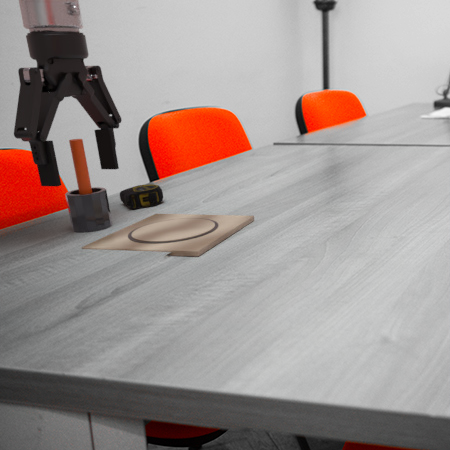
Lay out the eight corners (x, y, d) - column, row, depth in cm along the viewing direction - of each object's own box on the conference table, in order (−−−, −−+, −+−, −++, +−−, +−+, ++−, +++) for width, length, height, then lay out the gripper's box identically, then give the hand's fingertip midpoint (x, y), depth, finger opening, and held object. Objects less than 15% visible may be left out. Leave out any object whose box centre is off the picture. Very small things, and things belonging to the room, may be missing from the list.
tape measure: (120, 207, 106) (117, 187, 105) (159, 200, 110) (156, 181, 109) (128, 214, 101) (125, 193, 100) (168, 207, 105) (165, 187, 104)
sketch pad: (82, 252, 81) (80, 245, 81) (156, 218, 98) (155, 212, 98) (198, 256, 78) (197, 249, 77) (254, 220, 95) (253, 214, 94)
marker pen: (83, 228, 91) (66, 140, 87) (91, 225, 92) (74, 138, 88) (93, 228, 90) (76, 140, 86) (101, 225, 92) (85, 138, 88)
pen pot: (65, 235, 89) (56, 195, 87) (90, 225, 95) (83, 187, 93) (96, 236, 88) (88, 195, 86) (120, 226, 94) (113, 187, 92)
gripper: (7, 26, 71) (43, 195, 77) (131, 33, 94) (151, 162, 100) (-44, 28, 72) (-5, 194, 78) (90, 34, 95) (112, 162, 101)
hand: (82, 177), depth 89 cm, fingers open, 12 cm apart
